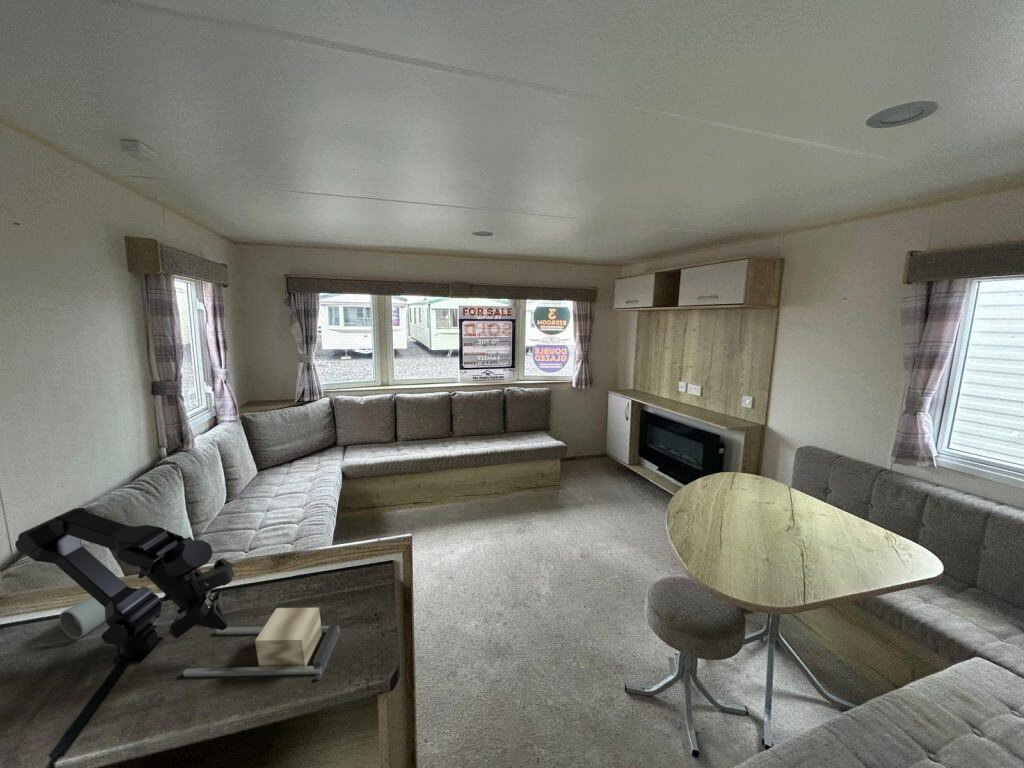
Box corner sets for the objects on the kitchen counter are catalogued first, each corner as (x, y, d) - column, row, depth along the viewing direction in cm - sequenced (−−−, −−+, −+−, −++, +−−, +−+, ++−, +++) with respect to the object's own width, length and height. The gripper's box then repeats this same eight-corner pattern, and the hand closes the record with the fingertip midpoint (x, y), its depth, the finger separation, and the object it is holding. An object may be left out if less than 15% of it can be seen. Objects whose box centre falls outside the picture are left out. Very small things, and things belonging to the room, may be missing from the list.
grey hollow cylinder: (124, 615, 104) (117, 590, 102) (85, 642, 96) (77, 615, 94) (93, 608, 106) (86, 583, 104) (52, 633, 98) (44, 607, 96)
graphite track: (183, 683, 87) (180, 668, 86) (221, 634, 99) (218, 621, 98) (319, 680, 89) (318, 665, 88) (340, 632, 101) (339, 619, 100)
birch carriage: (259, 669, 89) (254, 640, 87) (280, 635, 98) (276, 608, 96) (305, 668, 90) (301, 639, 88) (321, 634, 99) (319, 607, 97)
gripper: (201, 571, 82) (252, 622, 86) (223, 539, 99) (265, 583, 103) (143, 612, 78) (200, 664, 82) (177, 572, 95) (222, 616, 99)
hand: (225, 627), depth 91 cm, fingers closed
